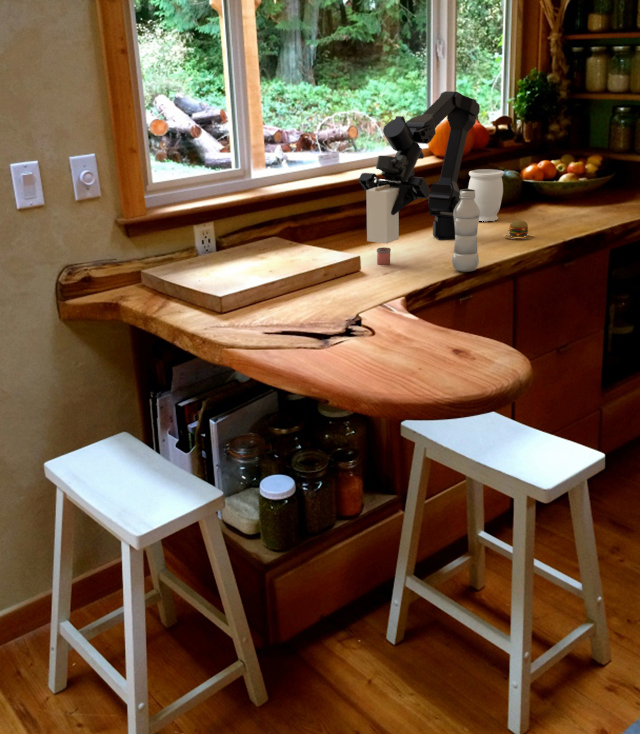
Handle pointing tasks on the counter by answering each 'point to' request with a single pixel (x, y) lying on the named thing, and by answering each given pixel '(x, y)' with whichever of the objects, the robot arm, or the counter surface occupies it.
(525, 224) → the hamburger
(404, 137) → the robot arm
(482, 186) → the jar
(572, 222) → the counter surface
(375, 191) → the tall white block
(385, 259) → the tin
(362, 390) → the counter surface
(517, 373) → the counter surface
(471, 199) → the plastic bottle
